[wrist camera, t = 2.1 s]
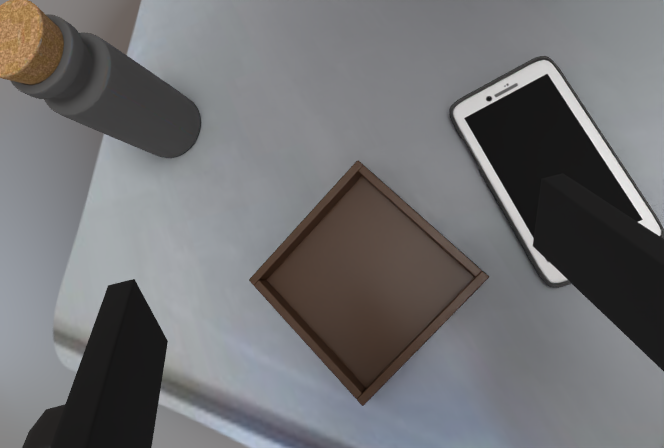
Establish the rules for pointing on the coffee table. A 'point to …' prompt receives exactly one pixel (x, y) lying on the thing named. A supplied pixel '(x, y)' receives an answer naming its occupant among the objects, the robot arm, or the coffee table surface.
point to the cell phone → (542, 150)
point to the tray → (366, 281)
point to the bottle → (93, 82)
